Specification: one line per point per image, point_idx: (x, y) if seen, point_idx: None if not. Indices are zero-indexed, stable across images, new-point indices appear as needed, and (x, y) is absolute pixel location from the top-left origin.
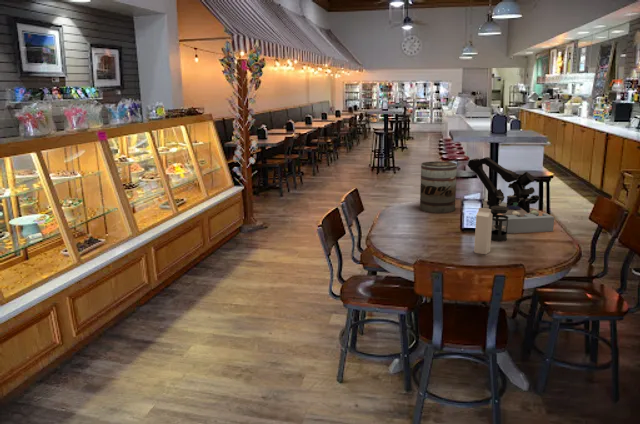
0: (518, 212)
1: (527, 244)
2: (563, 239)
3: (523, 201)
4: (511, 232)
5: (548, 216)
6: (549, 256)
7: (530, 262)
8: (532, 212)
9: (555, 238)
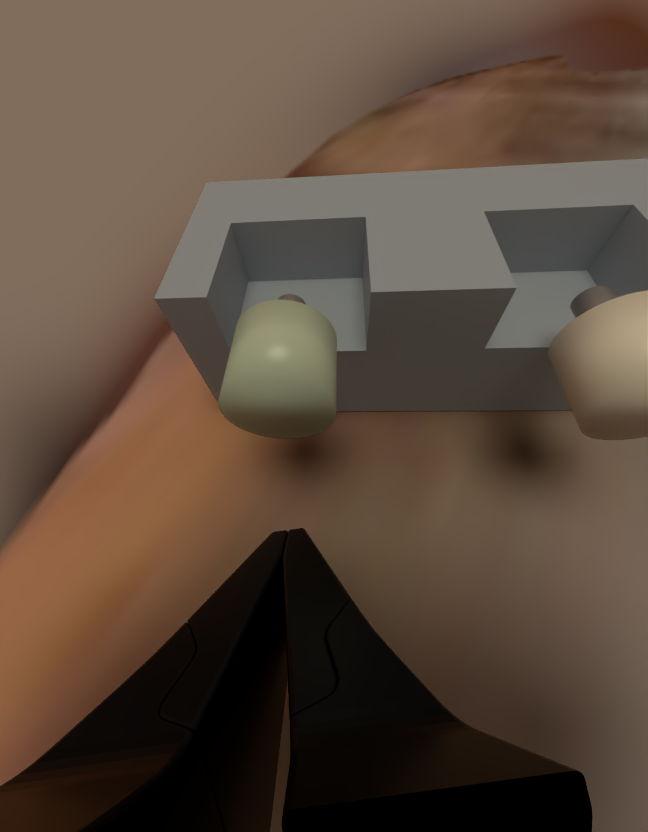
0: (630, 295)
1: (524, 164)
2: None
3: (558, 787)
4: None
5: (242, 202)
6: (473, 99)
7: (558, 76)
8: (327, 345)
9: None
